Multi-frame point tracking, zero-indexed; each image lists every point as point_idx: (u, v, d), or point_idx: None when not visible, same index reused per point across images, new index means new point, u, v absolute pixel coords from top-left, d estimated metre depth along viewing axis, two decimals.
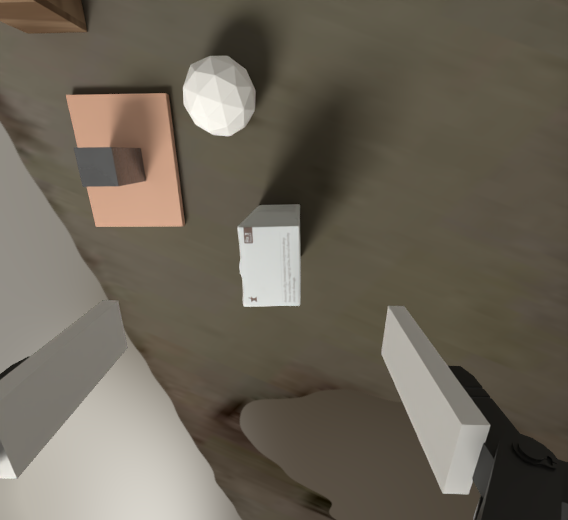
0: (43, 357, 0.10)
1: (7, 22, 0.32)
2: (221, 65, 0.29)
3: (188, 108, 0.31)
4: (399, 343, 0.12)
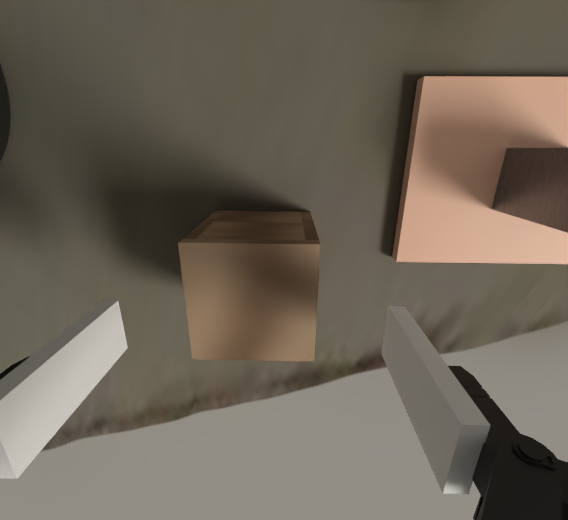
0: (43, 357, 0.10)
1: None
2: None
3: None
4: (399, 343, 0.13)
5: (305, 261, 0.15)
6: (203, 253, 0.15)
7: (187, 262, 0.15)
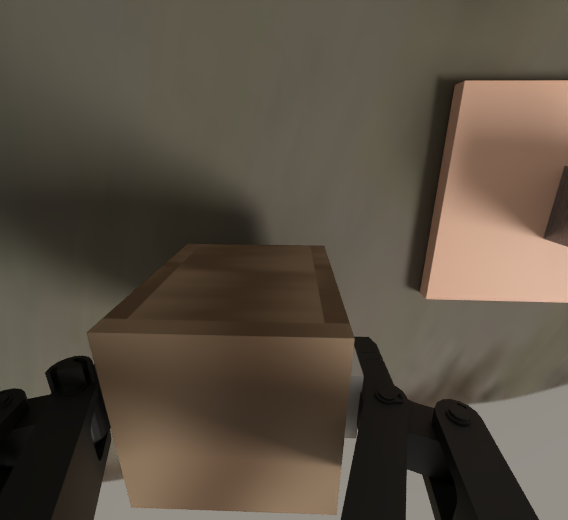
0: None
1: None
2: None
3: None
4: None
5: (325, 365, 0.08)
6: (135, 350, 0.08)
7: (107, 365, 0.08)
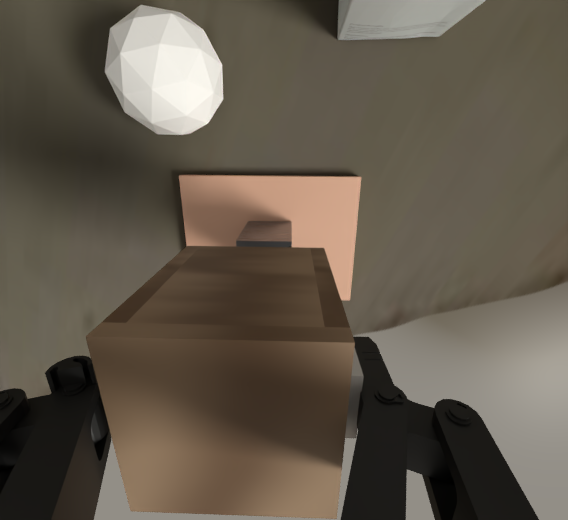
0: None
1: None
2: (111, 48, 0.19)
3: (180, 119, 0.20)
4: None
5: (326, 369, 0.08)
6: (135, 355, 0.08)
7: (107, 369, 0.08)
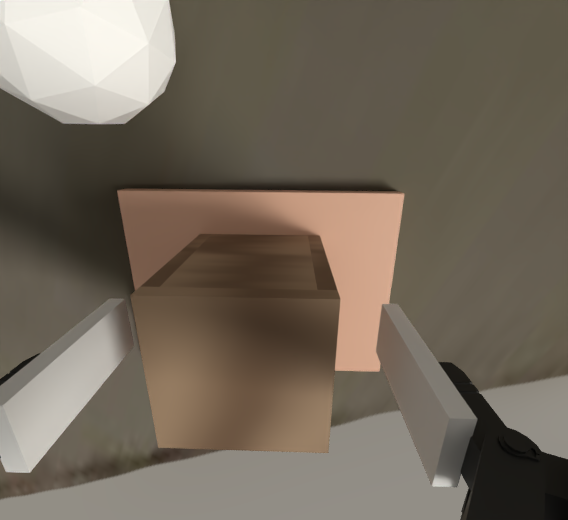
0: (54, 354, 0.11)
1: None
2: None
3: (86, 93, 0.11)
4: (392, 340, 0.13)
5: (318, 321, 0.10)
6: (168, 310, 0.10)
7: (145, 322, 0.10)
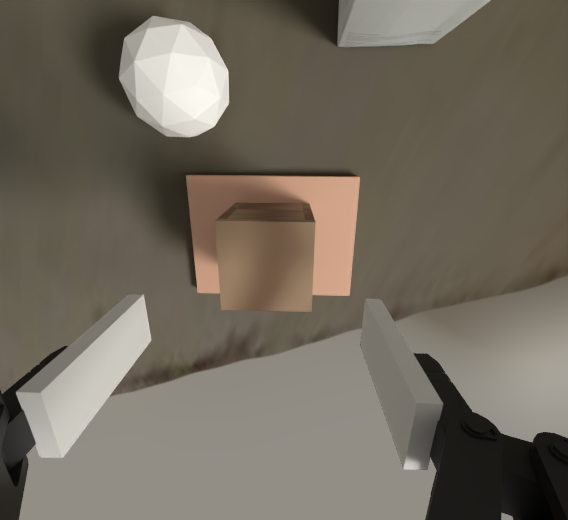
0: (82, 345, 0.11)
1: None
2: (125, 56, 0.20)
3: (189, 122, 0.22)
4: (373, 333, 0.13)
5: (305, 234, 0.21)
6: (232, 228, 0.21)
7: (220, 235, 0.21)
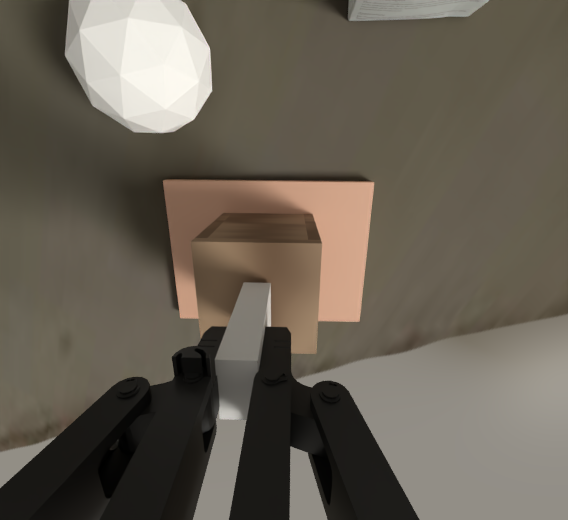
0: (240, 324, 0.12)
1: None
2: (70, 25, 0.15)
3: (158, 114, 0.17)
4: None
5: (308, 258, 0.16)
6: (214, 251, 0.16)
7: (199, 259, 0.16)
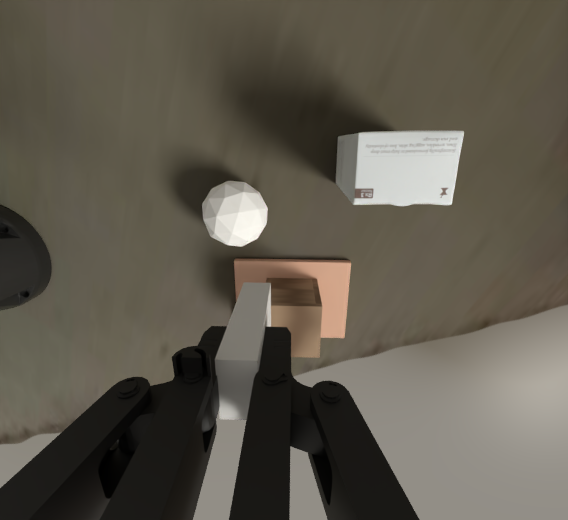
0: (240, 324, 0.12)
1: None
2: (209, 209, 0.33)
3: (244, 242, 0.35)
4: None
5: (315, 313, 0.34)
6: (271, 309, 0.34)
7: None
